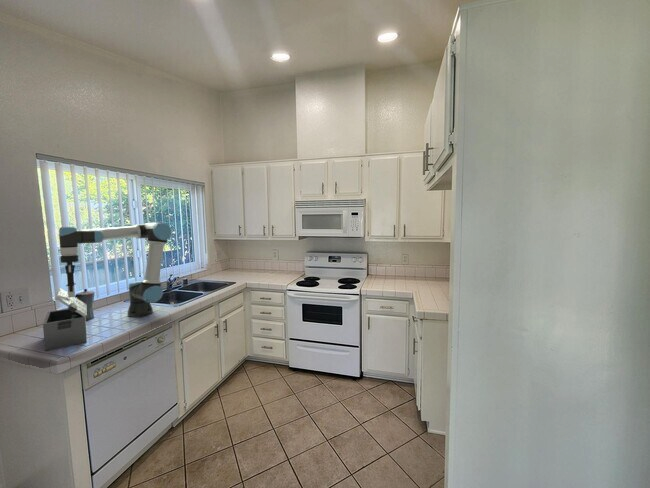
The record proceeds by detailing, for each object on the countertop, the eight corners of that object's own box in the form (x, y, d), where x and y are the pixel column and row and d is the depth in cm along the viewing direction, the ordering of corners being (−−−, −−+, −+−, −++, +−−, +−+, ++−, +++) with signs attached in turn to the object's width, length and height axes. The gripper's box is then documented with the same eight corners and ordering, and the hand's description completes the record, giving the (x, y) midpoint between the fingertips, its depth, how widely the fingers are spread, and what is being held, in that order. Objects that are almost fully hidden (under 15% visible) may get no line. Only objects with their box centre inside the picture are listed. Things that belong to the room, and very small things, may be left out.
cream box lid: (84, 306, 179) (88, 302, 180) (84, 321, 153) (89, 316, 154) (58, 289, 171) (62, 285, 172) (53, 302, 145) (58, 297, 146)
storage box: (86, 328, 180) (84, 306, 179) (86, 345, 156) (84, 319, 155) (49, 335, 170) (47, 311, 168) (44, 354, 146) (41, 327, 145)
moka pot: (101, 315, 206) (99, 286, 204) (84, 322, 190) (82, 292, 188) (87, 315, 205) (85, 286, 203) (68, 323, 190) (66, 292, 188)
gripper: (60, 254, 166) (63, 295, 167) (59, 256, 155) (61, 300, 157) (78, 253, 170) (80, 293, 172) (78, 255, 160) (80, 298, 162)
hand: (71, 297), depth 165 cm, fingers closed
